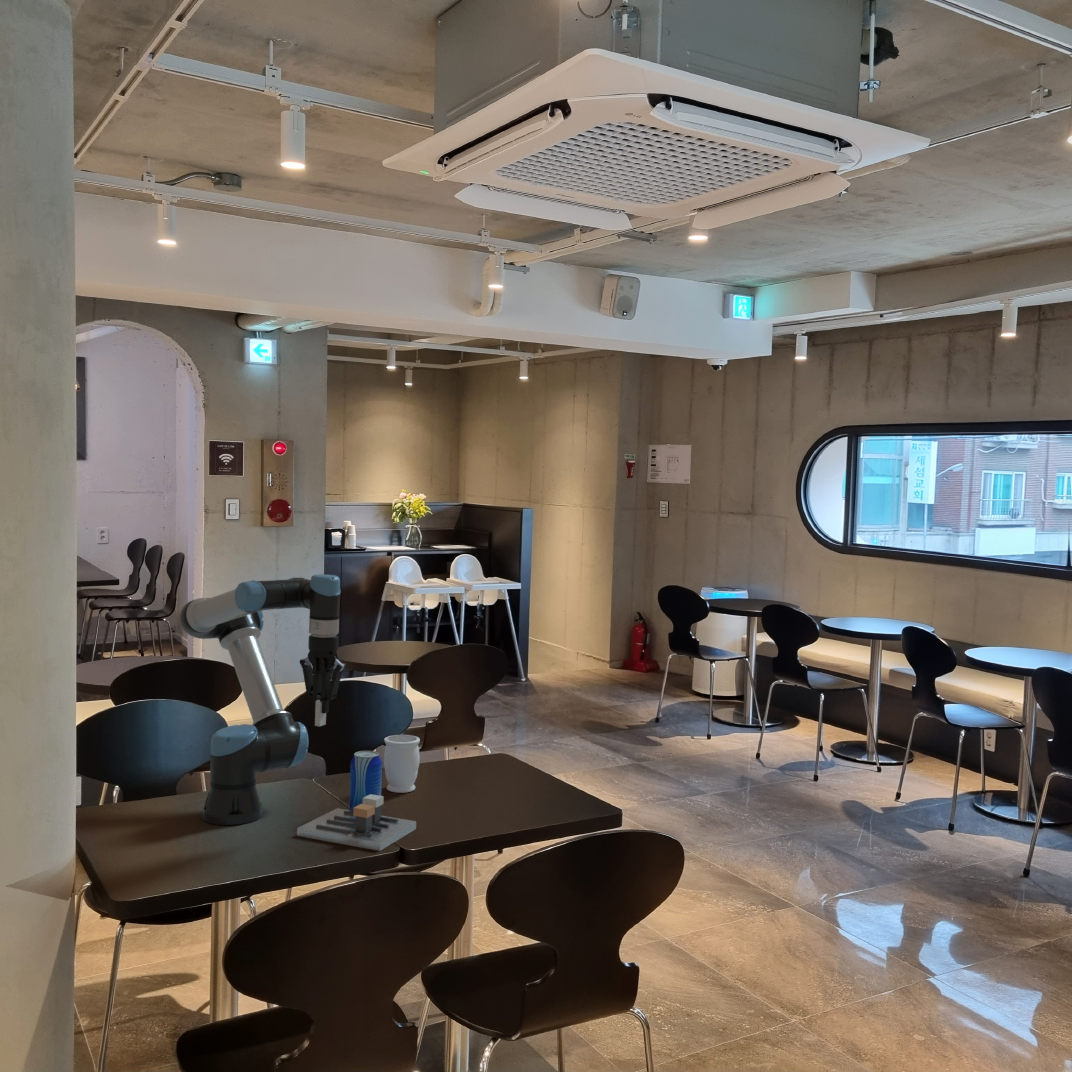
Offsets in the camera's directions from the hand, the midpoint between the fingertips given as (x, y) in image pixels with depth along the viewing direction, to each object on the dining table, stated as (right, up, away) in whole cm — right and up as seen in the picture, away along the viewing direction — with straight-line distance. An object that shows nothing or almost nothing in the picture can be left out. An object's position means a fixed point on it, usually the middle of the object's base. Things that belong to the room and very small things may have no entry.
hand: (320, 724), depth 261 cm
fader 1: (+14, -24, -1) cm, 28 cm away
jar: (+16, -26, +34) cm, 46 cm away
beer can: (+10, -26, +12) cm, 30 cm away
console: (+10, -27, -4) cm, 29 cm away
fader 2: (+13, -25, -10) cm, 29 cm away
